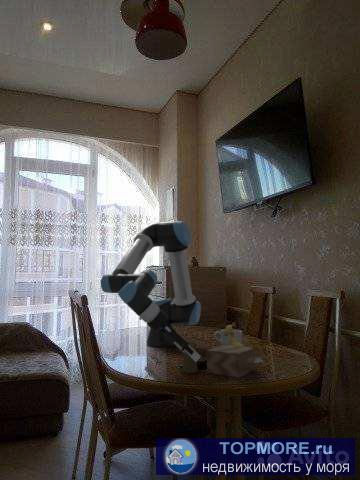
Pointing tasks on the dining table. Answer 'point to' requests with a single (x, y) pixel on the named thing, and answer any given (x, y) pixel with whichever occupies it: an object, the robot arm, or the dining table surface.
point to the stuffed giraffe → (232, 330)
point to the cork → (189, 360)
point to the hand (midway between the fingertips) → (192, 355)
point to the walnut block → (230, 360)
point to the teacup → (228, 337)
